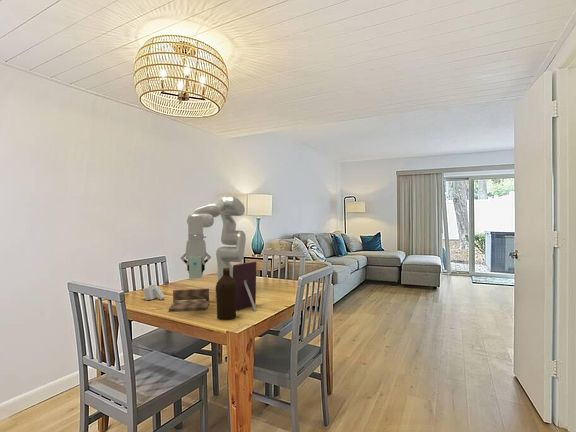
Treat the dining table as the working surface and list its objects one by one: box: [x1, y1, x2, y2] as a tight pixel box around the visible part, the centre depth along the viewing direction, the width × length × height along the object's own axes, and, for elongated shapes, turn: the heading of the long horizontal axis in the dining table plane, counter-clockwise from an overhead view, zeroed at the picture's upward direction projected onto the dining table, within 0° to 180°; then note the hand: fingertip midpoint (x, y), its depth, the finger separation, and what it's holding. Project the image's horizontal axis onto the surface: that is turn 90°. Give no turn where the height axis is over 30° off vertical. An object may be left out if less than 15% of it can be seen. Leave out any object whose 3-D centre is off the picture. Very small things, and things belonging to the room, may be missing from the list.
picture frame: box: [232, 261, 258, 312], centre depth 176 cm, size 17×10×25 cm, turn 141°
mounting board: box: [168, 288, 210, 313], centre depth 180 cm, size 20×14×8 cm
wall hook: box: [143, 284, 166, 301], centre depth 198 cm, size 8×10×10 cm
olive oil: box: [215, 267, 237, 321], centre depth 163 cm, size 11×11×25 cm
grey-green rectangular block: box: [188, 256, 204, 280], centre depth 168 cm, size 6×9×11 cm
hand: (196, 271), depth 169 cm, fingers closed on grey-green rectangular block, 6 cm apart
